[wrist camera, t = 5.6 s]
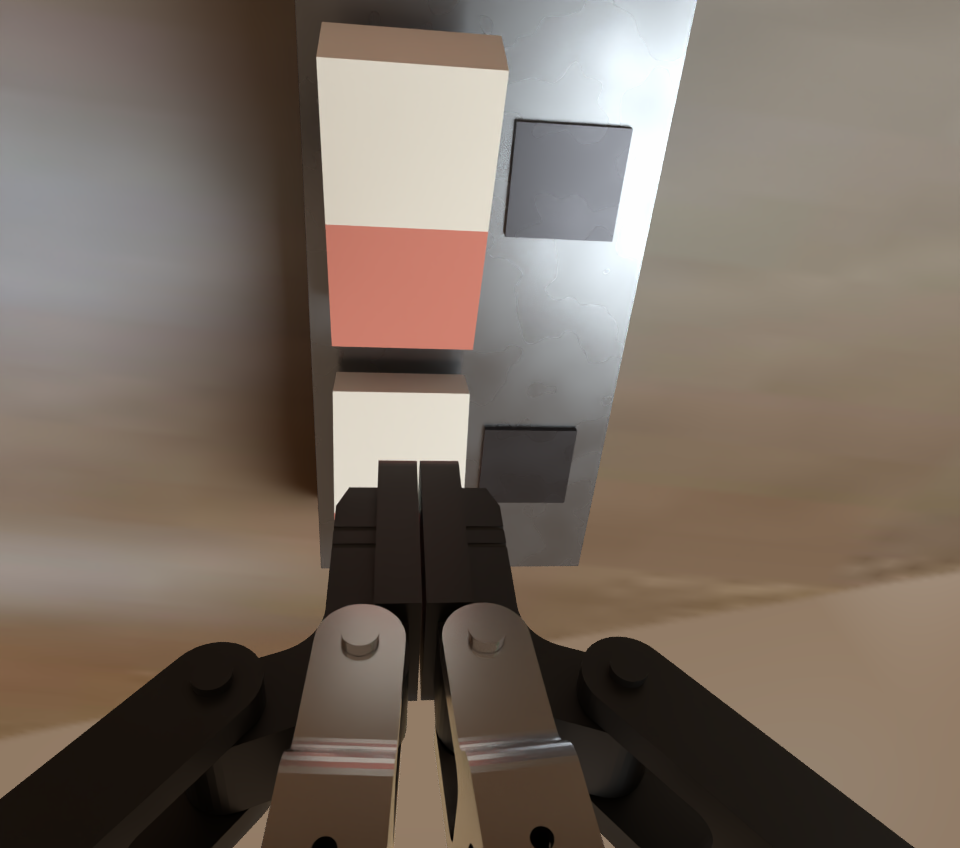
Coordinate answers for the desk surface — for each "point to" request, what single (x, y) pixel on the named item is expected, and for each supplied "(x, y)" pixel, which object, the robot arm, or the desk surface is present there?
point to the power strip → (527, 246)
